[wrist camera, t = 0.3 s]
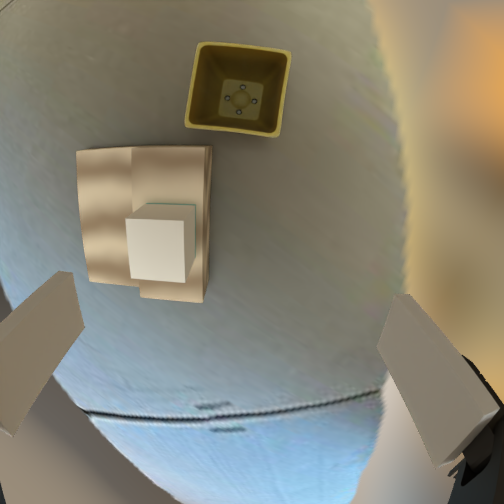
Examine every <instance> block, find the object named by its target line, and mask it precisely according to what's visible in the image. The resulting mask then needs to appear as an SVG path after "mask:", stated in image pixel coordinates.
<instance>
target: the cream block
mask: <svg viewBox="0 0 504 504" xmlns="http://www.w3.org/2000/svg"><path fill="white" fill-rule="evenodd" d="M125 222H126V235H127V246H128V256H129V265H130V274H131V278H133V279H144V280H155V281H167V282H179V283H185V282H186V280H187V277H188V275H189V272H190V270H191V267H192V265H193V262H194V260H195V258H196V204H171V203H146V204H144V205H143V206H142V207H140V208H139V209H138V210H136V211H135V212H133V213H132V214H131V215H129V216H128V217H127V218H125Z"/></svg>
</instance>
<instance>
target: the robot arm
mask: <svg viewBox="0 0 504 504" xmlns="http://www.w3.org/2000/svg"><path fill="white" fill-rule="evenodd" d="M84 328H85V326H84V322H83V318H82V314H81V310H80V306H79V302H78V297H77V293H76V288H75V283H74V278H73V273H72V272H64V271H58V272H57V273H56V274H55V275H53V276H52V277H51V278H50V279H49V280H47V281H46V282H45V283H44V284H43V285H42V286H40V287H39V288H38V289H37V290H36V291H35V292H34V293H32V294H31V295H30V296H29V297H28V298H27V299H26V300H25V301H24V302H22V303H21V304H20V305H19V306H18V307H17V308H16V309H15V310H14V311H13V312H12V313H11V314H10V315H9V316H7V317H6V319H4V320H3V322H1V323H0V430H1V431H3V432H4V433H6V434H8V435H9V436H11V437H14V435H15V433H16V431H17V430H18V428H19V426H20V425H21V422H22V421H23V419H24V418H25V416H26V414H27V413H28V411H29V409H30V407H31V406H32V404H33V403H34V401H35V400H36V398H37V396H38V395H39V393H40V392H41V390H42V389H43V387H44V385H45V384H46V382H47V380H48V379H49V378H50V376H51V375H52V373H53V372H54V370H55V369H56V367H57V366H58V364H59V363H60V362H61V360H62V359H63V357H64V356H65V354H66V353H67V352H68V350H69V349H70V347H71V346H72V344H73V343H74V342H75V340H76V339H77V338H78V336H79V335H80V333H81V332H82V331H83V329H84ZM376 348H377V350H378V351H379V353H380V355H381V357H382V359H383V361H384V363H385V365H386V366H387V368H388V370H389V372H390V374H391V376H392V378H393V380H394V382H395V384H396V386H397V388H398V390H399V392H400V394H401V396H402V398H403V400H404V402H405V404H406V406H407V408H408V410H409V412H410V414H411V416H412V418H413V421H414V423H415V425H416V427H417V429H418V431H419V434H420V436H421V438H422V440H423V442H424V445H425V447H426V449H427V451H428V454H429V456H430V458H431V461H432V463H433V465H434V468H435V469H436V468H439V467H442V466H444V465H446V464H449V463H451V462H453V461H454V460H455V459H456V458H457V457H458V456H459V455H460V454H461V453H463V455H464V457H465V458H464V459H463V460H462V461H461V462H460V463H458V464H457V465H456V466H455V467H454V468H453V469H452V470H451V471H450V472H449V474H448V476H449V477H450V476H451V475H452V474H454V473H455V472H456V471H457V470H458V473H457V474H456V475H455V476H454V478H455V479H456V480H455V483H454V487H453V490H452V493H451V496H450V499H449V502H448V504H504V404H503V403H502V401H501V400H500V399H499V397H498V396H497V394H496V393H495V392H494V390H493V389H492V388H491V386H490V385H489V383H488V382H486V381H485V380H486V379H485V378H484V377H483V375H482V374H480V371H479V370H478V369H477V367H476V366H475V365H474V364H473V362H471V361H470V360H469V359H467V358H466V357H465V356H463V355H461V354H460V353H459V352H458V350H457V349H456V348H455V347H454V346H453V344H452V343H451V342H450V341H449V339H448V338H447V337H446V336H445V334H444V333H443V332H442V331H441V330H440V328H439V327H438V326H437V325H436V324H435V323H434V321H433V320H432V319H431V318H430V317H429V316H428V315H427V313H426V312H425V311H424V310H423V309H422V308H421V307H420V305H419V304H418V303H417V302H416V301H415V300H414V299H413V297H412V296H411V295H410V294H395V295H394V298H393V301H392V304H391V307H390V310H389V313H388V316H387V319H386V322H385V325H384V328H383V331H382V333H381V336H380V339H379V342H378V344H377V347H376ZM0 504H6V502H5V499H4V495H3V491H2V487H1V483H0Z"/></svg>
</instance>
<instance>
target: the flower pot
mask: <svg viewBox="0 0 504 504" xmlns="http://www.w3.org/2000/svg"><path fill="white" fill-rule="evenodd" d="M291 59H292V54H291V52H290V51H287V50H282V49H276V48H269V47H261V46H253V45H244V44H235V43H224V42H199V43H198V45H197V48H196V53H195V59H194V64H193V70H192V76H191V81H190V88H189V94H188V100H187V106H186V112H185V122H184V123H185V127H187V128H192V129H206V130H218V131H228V132H237V133H244V134H251V135H258V136H264V137H271V138H276V137H278V136H279V134H280V130H281V123H282V115H283V107H284V100H285V93H286V87H287V81H288V76H289V70H290V65H291ZM242 85H244V86H245V89H241V86H242ZM226 96H229V97H230V99H229V100H226V99H225V97H226ZM253 99H256V100H257V102H256V103H255V104H254V103H252V100H253ZM237 110H241V114H237Z"/></svg>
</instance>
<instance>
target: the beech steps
mask: <svg viewBox="0 0 504 504" xmlns="http://www.w3.org/2000/svg"><path fill="white" fill-rule="evenodd" d="M76 160H77V185H78V200H79V211H80V221H81V230H82V238H83V245H84V252H85V258H86V264H87V270H88V275H89V280H90V281H91V282H100V283H108V284H117V285H127V286H137V287H139V289H140V296H141V297H143V298H153V299H163V300H174V301H185V302H197V303H203V300H204V296H205V292H206V288H207V285H208V281H209V224H210V190H211V166H212V146H210V145H148V146H124V147H108V148H95V149H86V150H81V151H76ZM146 203H171V204H196V258H195V260H194V262H193V265H192V267H191V270H190V272H189V275H188V277H187V280H186V282H185V283H179V282H167V281H155V280H144V279H133V278H131V274H130V265H129V256H128V246H127V235H126V222H125V218H127V217H128V216H129V215H131V214H132V213H133V212H135V211H136V210H138V209H139V208H140V207H142V206H143V205H144V204H146Z"/></svg>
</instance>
